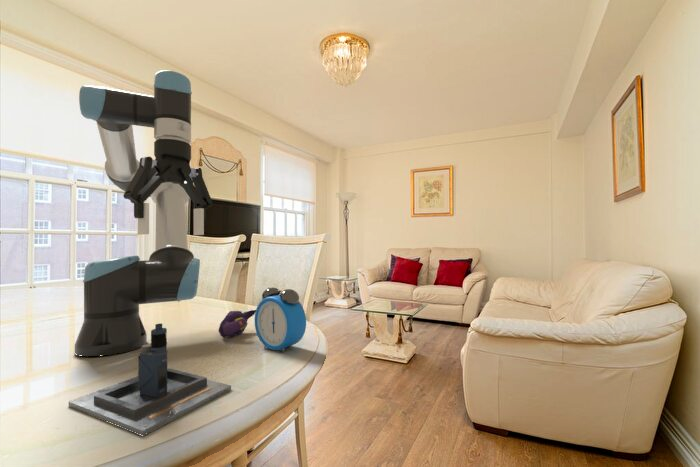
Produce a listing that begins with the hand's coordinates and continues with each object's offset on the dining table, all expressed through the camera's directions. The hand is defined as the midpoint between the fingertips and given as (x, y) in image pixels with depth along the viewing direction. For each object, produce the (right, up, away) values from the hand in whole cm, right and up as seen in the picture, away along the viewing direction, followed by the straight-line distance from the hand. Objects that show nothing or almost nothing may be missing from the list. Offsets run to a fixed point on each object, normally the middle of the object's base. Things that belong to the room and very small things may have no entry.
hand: (173, 234), depth 76 cm
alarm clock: (+23, -29, +8) cm, 38 cm away
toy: (+7, -29, +21) cm, 37 cm away
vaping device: (+6, -28, -18) cm, 34 cm away
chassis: (+6, -28, -18) cm, 34 cm away
